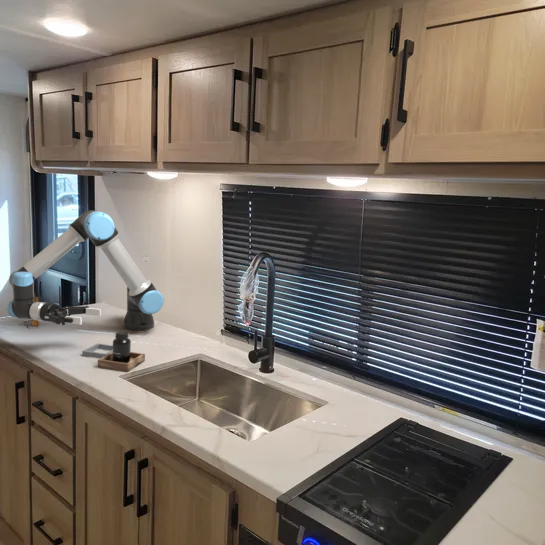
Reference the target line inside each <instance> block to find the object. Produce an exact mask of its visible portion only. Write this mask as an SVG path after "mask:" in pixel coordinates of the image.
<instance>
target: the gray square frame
mask: <svg viewBox="0 0 545 545" xmlns="http://www.w3.org/2000/svg"><path fill="white" fill-rule="evenodd" d="M97 350H105V351H108V352H106V353H104V352H99V351H98V352H96V351H97ZM111 352H113V344H105V343H104V344H103V343H95V344H94V345H91V346H89V347H87V348H85V349H84V350H82V351H81V353H82V354H81V355H82V356H83V357H89V358H94V357H95V359H100V358H102V357H104V356H106V355H108V354H109V353H111Z"/></svg>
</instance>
